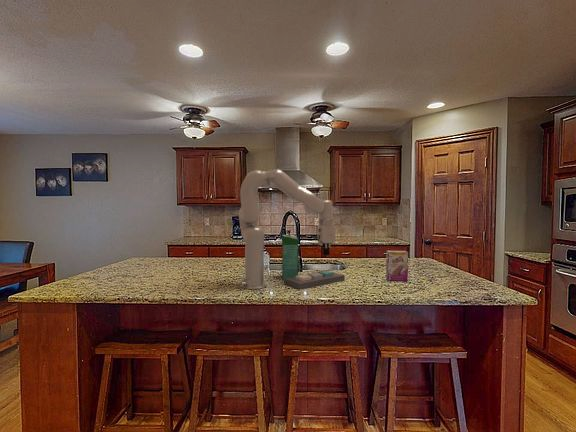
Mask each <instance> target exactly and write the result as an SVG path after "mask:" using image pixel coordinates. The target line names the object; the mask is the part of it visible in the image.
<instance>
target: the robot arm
mask: <svg viewBox="0 0 576 432" xmlns="http://www.w3.org/2000/svg"><path fill="white" fill-rule="evenodd" d="M266 187H276V188H277V189H278V190H280V191H281V192H282V193H283V194H285V195H286V196H287V197H288V198H290V199H291V200H294V201H297V202H299V203H301V204H302V205H303V208H304V211H305V212H306V213H307V214H311V215H318V221H317V223H318V227H317V242H318V246H321V247H322V249H323V256H330V248H331V246H332V245H334V243H335V242H336V229H335V224H334V223H333V222H334V221H333V220H334V219H333V216H334V215H333V208H334V207H333V201H332V200H330V199H326V200H324V199H323V200H321V199H320V198H319V197H318V196H317V195H315V194H314V193H313V192H311V191H310V190H308V189H306V188H305V187H303V186H302V185H300V184H299V183H298V182H297V181H295V180H294V179H293V178H292V177H290V176H289V175H288V174H287V173H286V172H284V171H283V170H282V169H279V168H274V169H272V170H268V171H266V170H265V171H262V170H259V169H255V170H252V171H249V172H248V173H246V176H245V178H244V179H243V180H242V183H241V185H240V191H239V197H240V206H241V207H240V209H239V211H238V222H239V227H240V233H241V238H242V239H243V240H244V241H245V246H244V266H245V267H244V272H245V273H244V277H243V278H242V279H241V280H238V281H236V285H237V286H239V285H240V286H241V287H242V288H244V289H247V290H260V289H265V288H267V284H268V283H266V282H264V281H265V280H264V278H265V277H264V275H265V274H264V273H265V272H264V269H265V268H264V250H265V249H264V248H265V247H264V246H265V233H264V230H263V229H262V228H261V227H260V226H258V221H259V220H260V215H261V213H260V208H259V202H258V201H259V200H258V190H259V188H266Z"/></svg>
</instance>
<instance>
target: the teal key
mask: <svg viewBox="0 0 576 432" xmlns="http://www.w3.org/2000/svg"><path fill="white" fill-rule="evenodd" d="M317 273H319V274H323V276H324V277H327V276H332V275H333V272H332V271H330V272H329V270H322V271H317Z"/></svg>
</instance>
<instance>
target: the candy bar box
mask: <svg viewBox="0 0 576 432" xmlns="http://www.w3.org/2000/svg"><path fill="white" fill-rule="evenodd" d="M385 257H386V260H385V262H386V265H385V280H386V281H387V282H389V281H390V282H408V279H409V276H408V275H409V252H408V251H407V250H386V256H385Z"/></svg>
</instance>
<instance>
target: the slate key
mask: <svg viewBox="0 0 576 432" xmlns="http://www.w3.org/2000/svg"><path fill="white" fill-rule="evenodd" d="M306 275H308V276H311V278H313V279H316V278H321V277H323V274H319V273H318V272H311V273H309V272H308V273H307V274H306Z"/></svg>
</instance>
